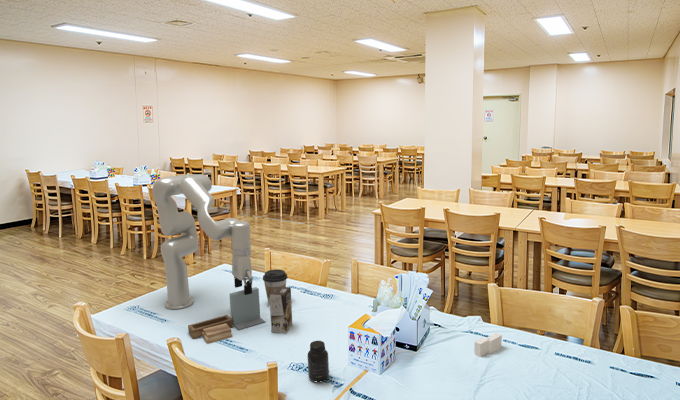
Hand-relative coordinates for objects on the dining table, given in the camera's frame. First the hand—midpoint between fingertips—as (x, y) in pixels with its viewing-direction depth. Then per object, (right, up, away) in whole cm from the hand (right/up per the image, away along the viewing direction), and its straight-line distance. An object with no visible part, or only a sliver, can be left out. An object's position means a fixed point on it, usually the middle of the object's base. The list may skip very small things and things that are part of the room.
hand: (243, 290), depth 196 cm
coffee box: (+17, -15, -5) cm, 23 cm away
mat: (+1, -14, +2) cm, 14 cm away
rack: (-12, -15, -6) cm, 20 cm away
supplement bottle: (+33, -21, -42) cm, 57 cm away
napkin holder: (+93, -17, -27) cm, 99 cm away
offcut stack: (-8, -17, -11) cm, 21 cm away
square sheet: (+1, -13, +2) cm, 13 cm away
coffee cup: (+11, -10, +20) cm, 25 cm away
